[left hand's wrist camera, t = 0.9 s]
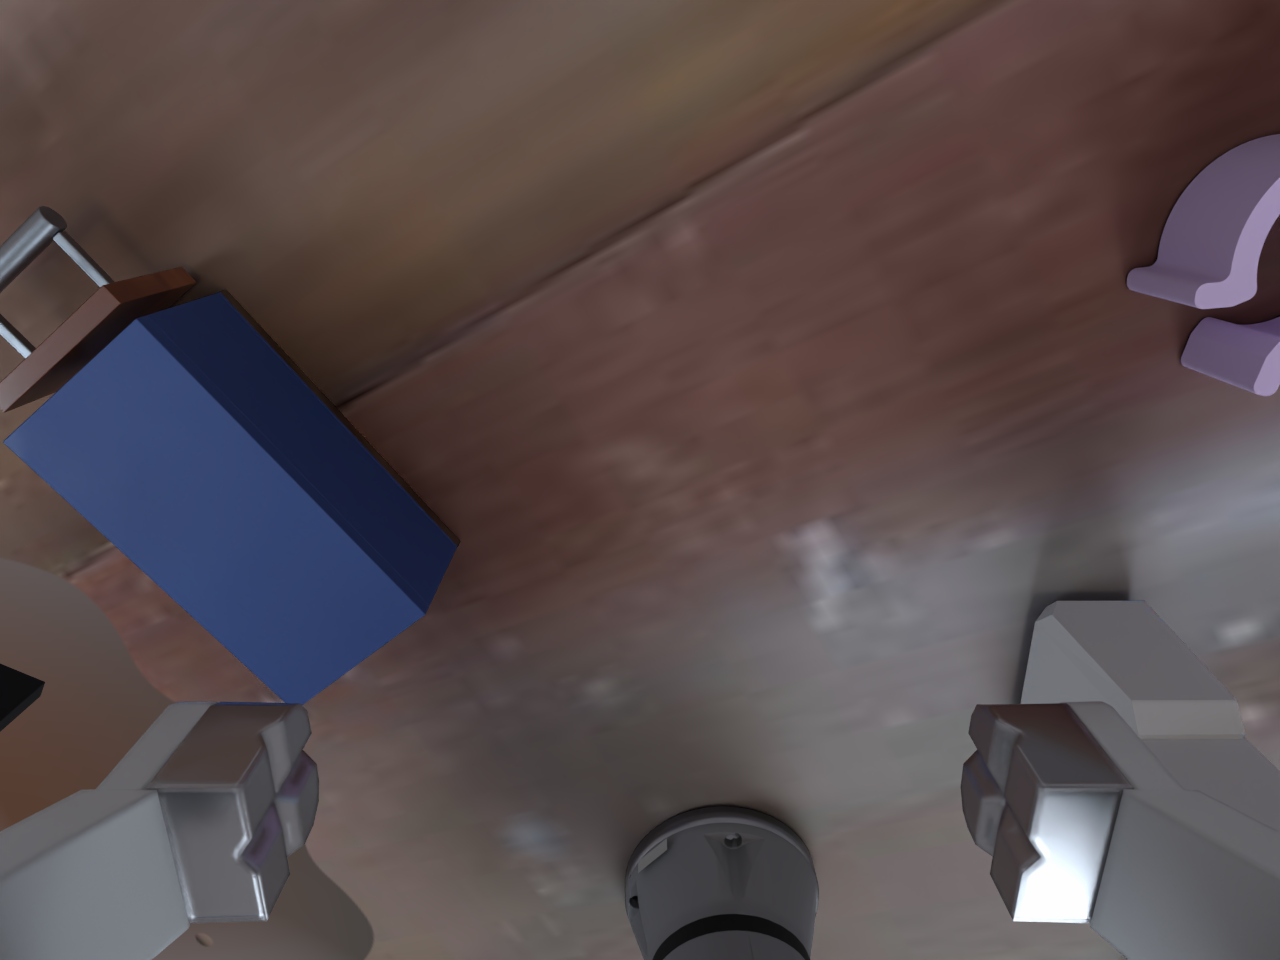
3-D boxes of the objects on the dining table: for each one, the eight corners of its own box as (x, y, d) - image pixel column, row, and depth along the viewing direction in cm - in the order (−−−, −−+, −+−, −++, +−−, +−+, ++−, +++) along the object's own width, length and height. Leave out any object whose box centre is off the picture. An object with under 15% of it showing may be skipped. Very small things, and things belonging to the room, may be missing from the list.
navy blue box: (111, 393, 56) (1, 441, 46) (225, 289, 53) (135, 317, 44) (347, 626, 62) (294, 711, 52) (460, 541, 59) (426, 614, 50)
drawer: (5, 291, 52) (-103, 314, 45) (109, 189, 50) (14, 194, 43) (310, 591, 59) (262, 654, 52) (412, 512, 57) (378, 566, 50)
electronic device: (1105, 739, 65) (1463, 1185, 37) (1005, 739, 65) (1286, 1186, 37) (1138, 591, 60) (1572, 969, 32) (1031, 592, 60) (1372, 969, 32)
